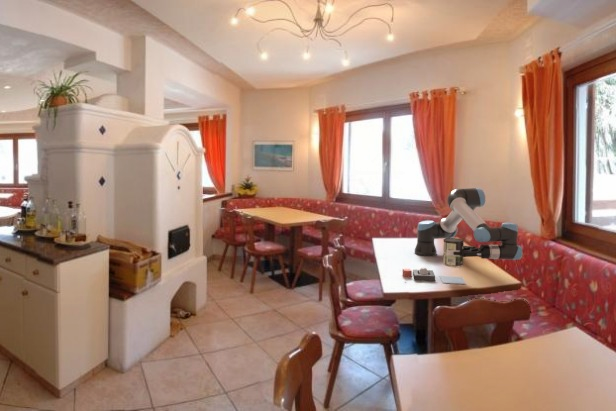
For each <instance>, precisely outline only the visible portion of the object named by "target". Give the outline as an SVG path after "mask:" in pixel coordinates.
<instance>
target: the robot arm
mask: <svg viewBox="0 0 616 411" xmlns="http://www.w3.org/2000/svg"><path fill="white" fill-rule="evenodd" d="M446 203H447V206H448V207H449V208H450V210H451V211H450V212H449V214H448V215H447V216H446V217H445V218H442V219H441V220H440V221H439V222H435V221H434V220H422V221H420V222H418V223H417V228H416V229H417V232H416V233H417V234H416V235H417V236H416V238H417V239H416V240H417V241H416V245H415V248H414V254H415V255H418V256H422V257H423V256H424V257H425V256H427V257H432V256H436V255H437V253H438V252H437V248H436V244H435V240H437V239H438V240H439V239H441V240H442V239H445V238H455V236H456V235H457V233H458V225H459V223H461V221H462V220H463V221H464V222H465V224H466V225H467V226H469V228H470V229H472V231H473V238H474V240H475V241H476V242H477V243H481V244H480V246H479V247H477V246H475V245H474V246H470V245H463V251H462V250H447V253H446V255H454V256H462V257H463V258H469V257H470V258H471V257H479V258H481V259H482V260H483V259H487V260H488V259H490V260H491V259H493V261H494V260H495V261H496V260H510V261H512V260H514V261H515V260H521V258H523V247H522V246H521V245H519V244H518V238H519V237H518V236H519V235H518V234H519V228H518V227H519V226H518V224H517V223H515V222H502V223H501V226H493V227H491V226H490V225H489V224H487V222H486V221H485V220H484V219H483V218H481V217H480V215H478V214H477V212H476V211H475V210H476V209H477V208H481V207H484V206H485V205H486V204H485V203H486V195H485V192H484V190H483V189H482V188H476V187H473V188H455V189H453V190H452V191H450V192H449V193H448V195H447V198H446ZM492 242H493V243H495V242H500V244H482V243H492ZM442 252H444V245H443V249H442Z"/></svg>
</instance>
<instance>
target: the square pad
mask: <svg viewBox="0 0 616 411" xmlns="http://www.w3.org/2000/svg"><path fill="white" fill-rule="evenodd" d="M438 277H439V279H440V281H441V283H442V284H446V285H447V284H451V285H467V282H466V281H465V280H464V278H463V276H453V275H452V276H451V275H449V276H448V275H438Z"/></svg>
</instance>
